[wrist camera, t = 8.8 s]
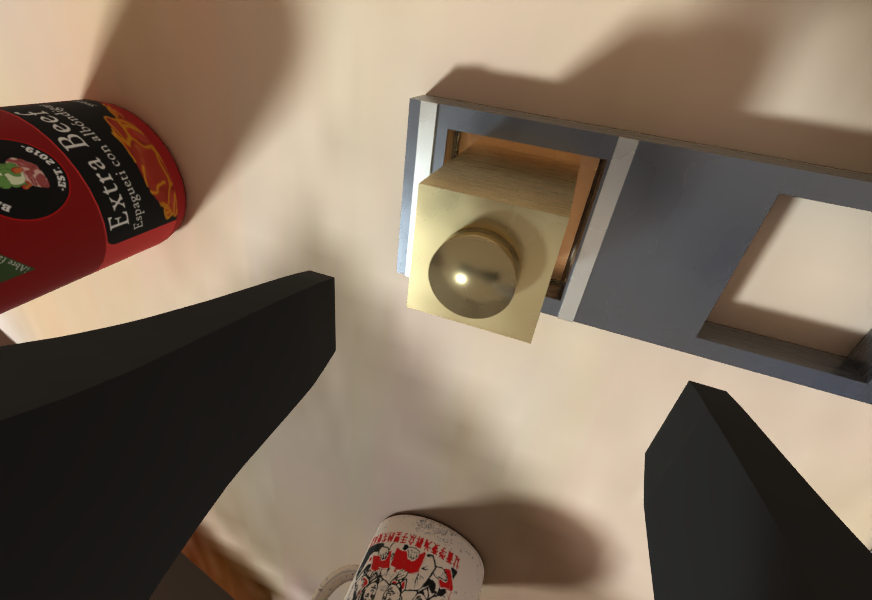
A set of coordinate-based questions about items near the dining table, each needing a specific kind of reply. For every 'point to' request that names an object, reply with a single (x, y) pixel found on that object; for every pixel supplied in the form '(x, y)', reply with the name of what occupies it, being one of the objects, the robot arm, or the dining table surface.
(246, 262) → the dining table surface
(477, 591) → the teacup with lid
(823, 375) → the plate with square holes
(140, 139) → the canned food
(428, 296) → the cube with round knob
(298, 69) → the dining table surface
